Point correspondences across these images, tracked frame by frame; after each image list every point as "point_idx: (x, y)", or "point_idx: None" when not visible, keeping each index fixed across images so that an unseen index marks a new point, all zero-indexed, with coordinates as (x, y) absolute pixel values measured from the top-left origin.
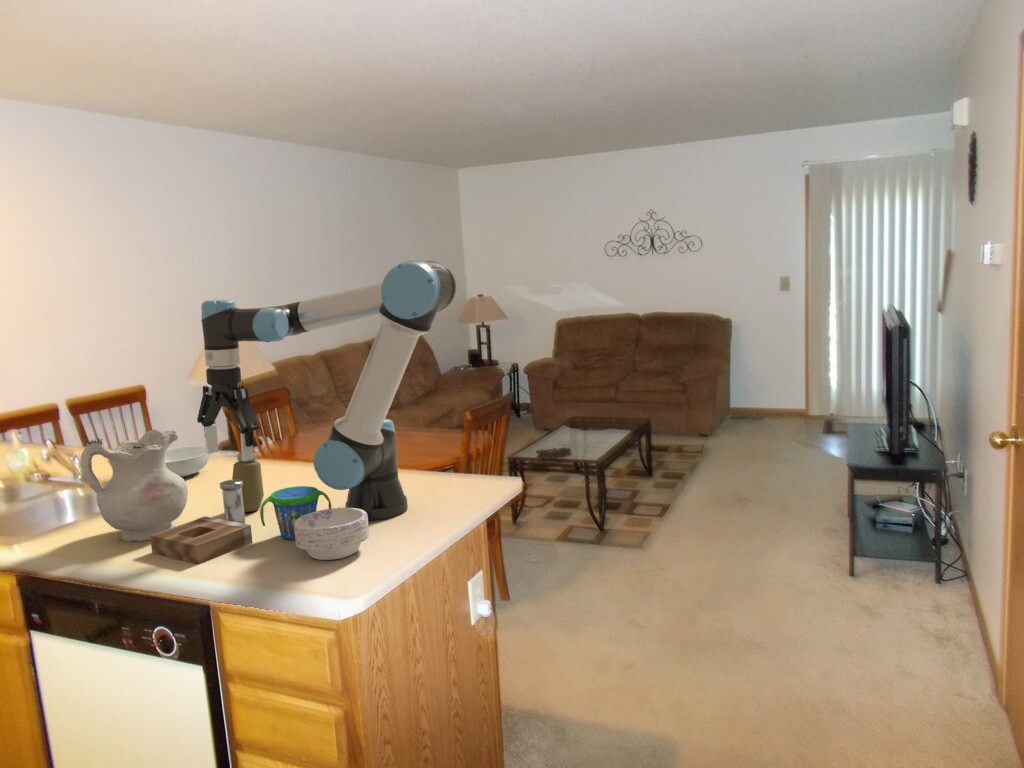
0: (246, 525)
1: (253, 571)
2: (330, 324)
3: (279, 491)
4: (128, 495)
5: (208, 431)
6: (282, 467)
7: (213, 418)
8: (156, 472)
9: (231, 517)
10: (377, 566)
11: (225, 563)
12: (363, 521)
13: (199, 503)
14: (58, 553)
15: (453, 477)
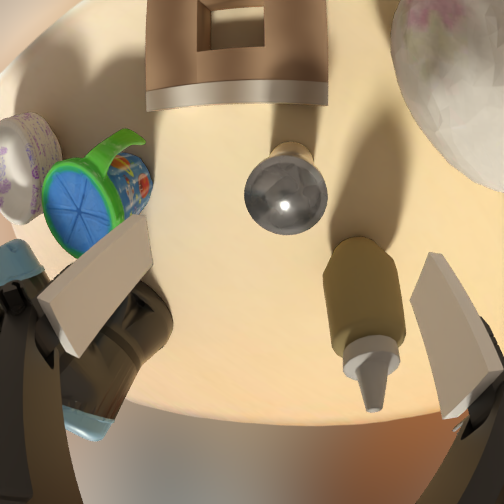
0: (152, 104)
1: (71, 48)
2: None
3: (106, 208)
4: None
5: (470, 353)
6: (427, 403)
7: (454, 457)
8: (498, 50)
9: (277, 148)
10: None
11: (127, 29)
12: None
13: (477, 261)
14: None
15: (175, 407)
